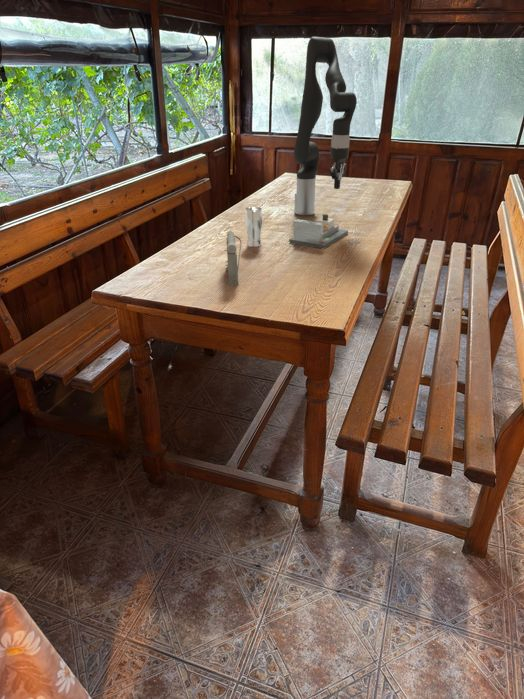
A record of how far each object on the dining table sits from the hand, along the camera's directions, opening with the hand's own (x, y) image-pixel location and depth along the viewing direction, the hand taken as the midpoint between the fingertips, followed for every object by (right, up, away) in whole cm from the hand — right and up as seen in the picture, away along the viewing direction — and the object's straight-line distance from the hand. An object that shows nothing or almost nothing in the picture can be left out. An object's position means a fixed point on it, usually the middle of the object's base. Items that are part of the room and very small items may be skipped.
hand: (336, 188), depth 215 cm
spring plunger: (-5, -19, 0) cm, 19 cm away
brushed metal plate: (-14, -25, -11) cm, 31 cm away
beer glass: (-36, -27, -10) cm, 46 cm away
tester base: (-8, -22, -3) cm, 24 cm away
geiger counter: (-42, -45, -41) cm, 74 cm away
